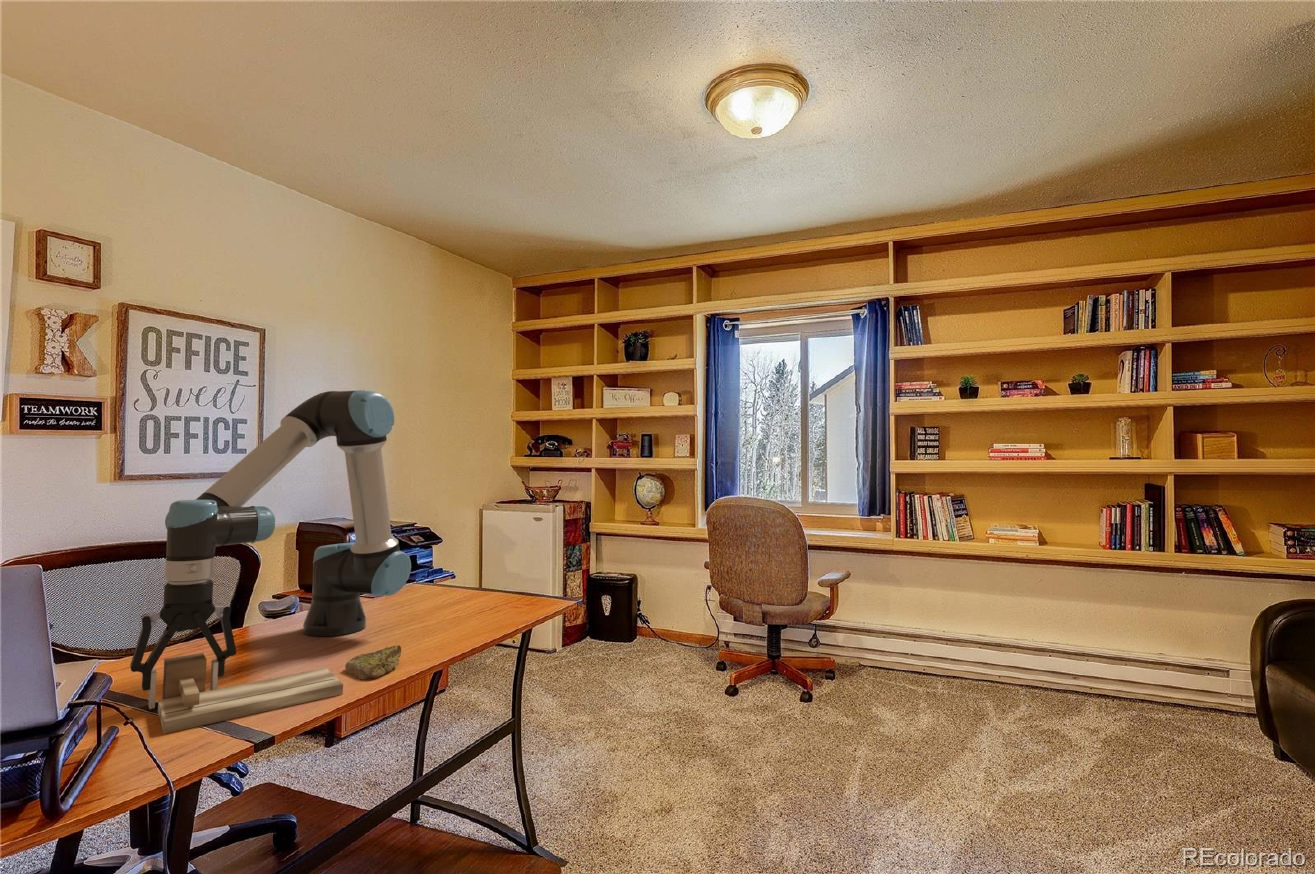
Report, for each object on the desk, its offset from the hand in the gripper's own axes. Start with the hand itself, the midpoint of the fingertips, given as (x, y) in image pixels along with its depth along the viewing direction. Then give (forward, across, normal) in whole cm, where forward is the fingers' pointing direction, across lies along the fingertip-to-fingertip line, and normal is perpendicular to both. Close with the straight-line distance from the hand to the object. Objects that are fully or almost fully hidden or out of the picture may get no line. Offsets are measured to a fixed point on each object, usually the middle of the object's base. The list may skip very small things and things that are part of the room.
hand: (183, 700), depth 118 cm
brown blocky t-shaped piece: (0, 0, -5) cm, 5 cm away
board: (0, +10, -9) cm, 13 cm away
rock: (+1, +33, -4) cm, 33 cm away
